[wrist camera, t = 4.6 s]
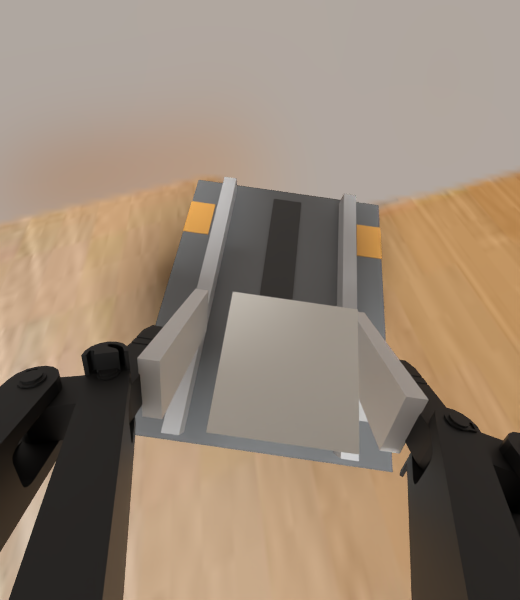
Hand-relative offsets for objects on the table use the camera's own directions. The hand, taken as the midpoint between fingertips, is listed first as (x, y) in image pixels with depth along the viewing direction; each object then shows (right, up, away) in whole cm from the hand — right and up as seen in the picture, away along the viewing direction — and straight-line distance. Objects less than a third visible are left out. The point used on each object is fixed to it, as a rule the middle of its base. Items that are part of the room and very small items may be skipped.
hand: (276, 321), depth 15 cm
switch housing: (0, 0, +6) cm, 6 cm away
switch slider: (-1, -4, +1) cm, 4 cm away
